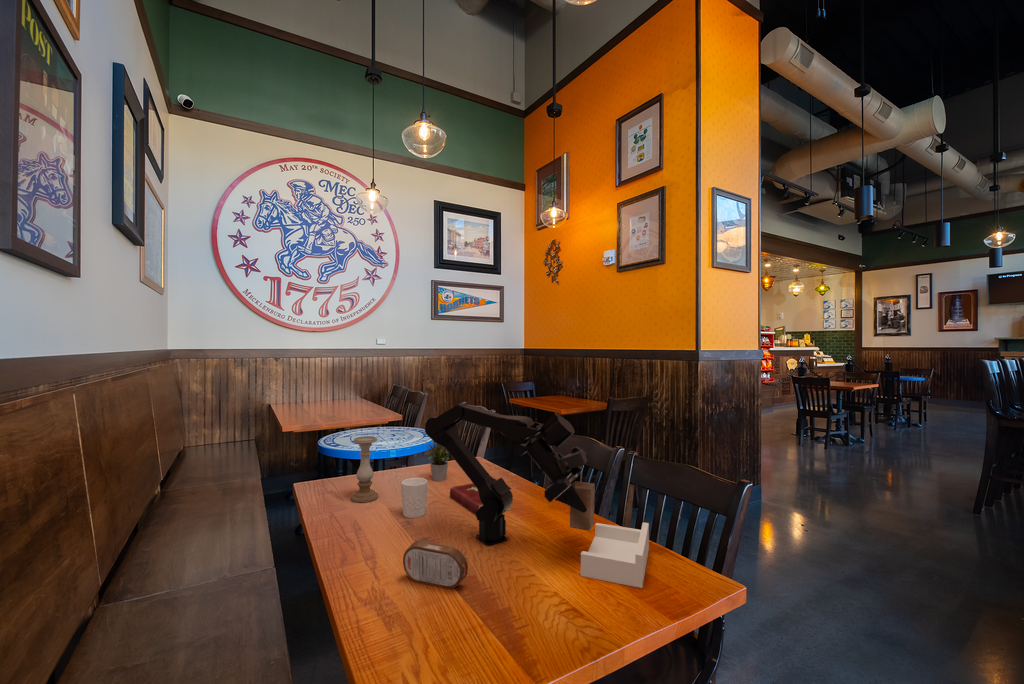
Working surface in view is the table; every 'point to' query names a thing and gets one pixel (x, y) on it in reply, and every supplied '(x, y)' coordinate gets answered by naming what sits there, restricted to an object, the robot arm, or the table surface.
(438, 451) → the house plant
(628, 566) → the toy armchair
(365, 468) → the candle holder
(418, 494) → the white cup
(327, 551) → the table surface
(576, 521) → the walnut block
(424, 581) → the tin
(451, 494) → the hardcover book
